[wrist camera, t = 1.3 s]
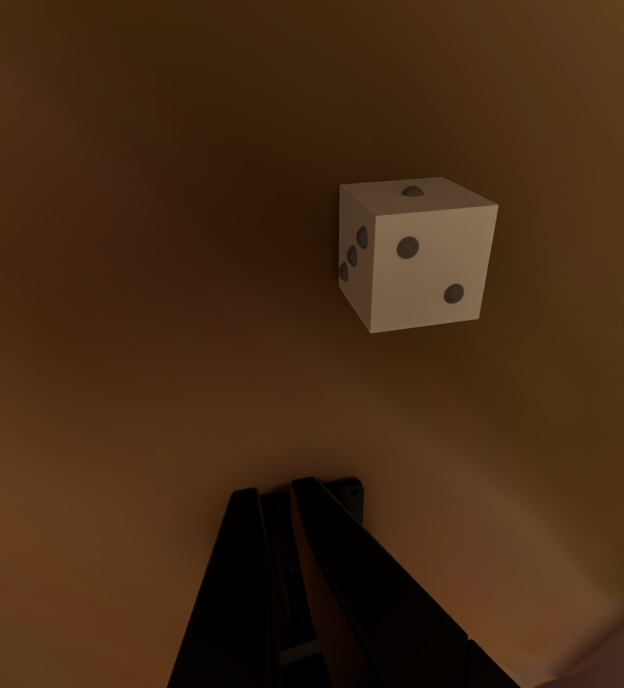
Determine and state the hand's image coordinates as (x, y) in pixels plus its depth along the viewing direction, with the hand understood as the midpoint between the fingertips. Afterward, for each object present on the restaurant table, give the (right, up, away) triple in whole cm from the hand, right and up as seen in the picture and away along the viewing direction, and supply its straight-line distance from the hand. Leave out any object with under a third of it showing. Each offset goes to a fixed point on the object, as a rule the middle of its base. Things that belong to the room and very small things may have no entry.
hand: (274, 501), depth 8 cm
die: (+4, +7, +11) cm, 14 cm away
